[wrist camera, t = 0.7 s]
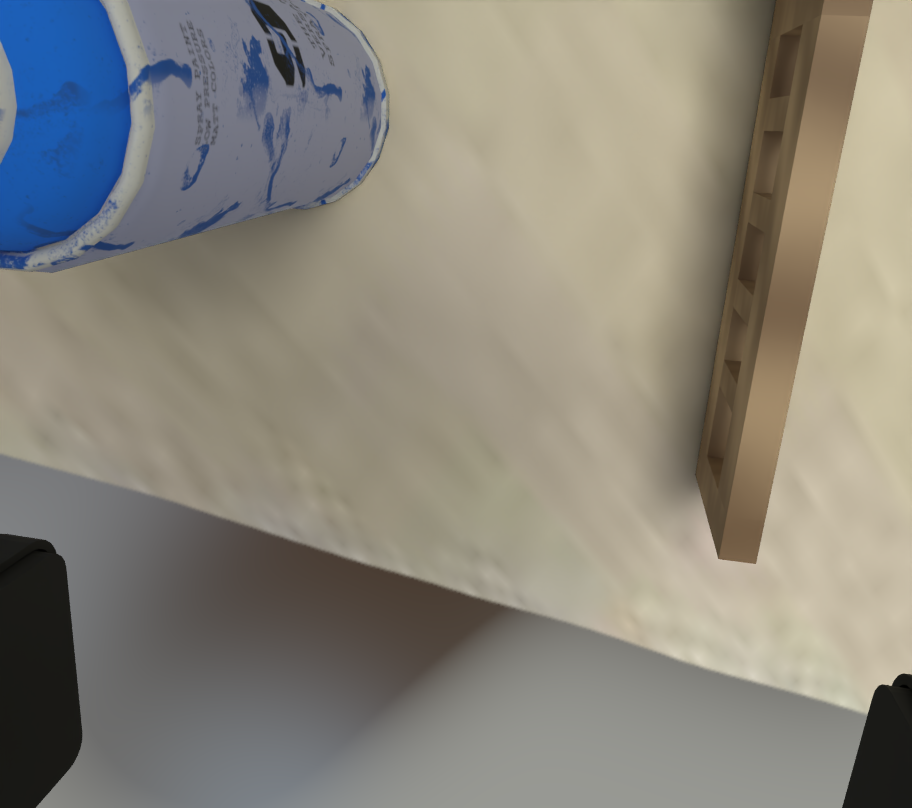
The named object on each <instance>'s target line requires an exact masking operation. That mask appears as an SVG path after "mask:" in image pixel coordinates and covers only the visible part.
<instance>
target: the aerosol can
mask: <svg viewBox="0 0 912 808" xmlns="http://www.w3.org/2000/svg"><path fill="white" fill-rule="evenodd" d="M388 129H389V92H388V88H387V85H386V81H385V77H384V74H383V70H382V66H381V63H380V60H379V58H378V57H377V55H376V54H375V52H374V50H373V49H372V47H371V46H370V44H369V42H368V41H367V39H366V37H365V36H364V34H363V33H362V31H361V30H359V29H358V28H357V27H356V26H355V25H354V24H353V23H351V22H350V21H349V20H348V19H347V18H346V17H344V16H343V15H342V14H341V13H340V12H339V11H338V10H336V9H334V8H332V7H329V6H327V5H324V4H322V3H319V2H317V1H314V0H0V269H6V270H18V271H29V272H33V271H38V272H50V273H53V272H57V271H61V270H64V269H68V268H72V267H76V266H79V265H83V264H87V263H90V262H94V261H98V260H102V259H105V258H109V257H113V256H116V255H120V254H124V253H128V252H131V251H135V250H139V249H142V248H146V247H150V246H154V245H157V244H161V243H165V242H168V241H172V240H176V239H180V238H183V237H187V236H191V235H194V234H198V233H202V232H205V231H209V230H213V229H217V228H220V227H224V226H228V225H231V224H235V223H239V222H243V221H246V220H250V219H254V218H257V217H261V216H265V215H269V214H272V213H276V212H280V211H283V210H287V209H291V208H295V209H309V208H313V207H316V206H320V205H323V204H327V203H331V202H334V201H337V200H339V199H340V198H342V197H343V196H344V195H346V194H347V193H349V192H350V191H352V190H353V189H354V188H356V187H357V186H359V185H360V184H361V183H362V182H363V180H364V179H365V177H366V176H367V175H368V173H369V172H370V171H371V169H372V168H373V166H374V165H375V164H376V162H377V161H378V159H379V157H380V154H381V150H382V147H383V144H384V141H385V138H386V135H387V132H388Z"/></svg>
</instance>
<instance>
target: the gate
mask: <svg viewBox="0 0 912 808" xmlns="http://www.w3.org/2000/svg"><path fill="white" fill-rule="evenodd" d="M872 4H873V0H776V4H775V10H774V16H773V22H772V27H771V33H770V39H769V45H768V51H767V57H766V63H765V69H764V75H763V80H762V86H761V92H760V98H759V104H758V110H757V116H756V122H755V127H754V133H753V139H752V145H751V151H750V157H749V163H748V169H747V175H746V180H745V186H744V192H743V198H742V204H741V210H740V216H739V222H738V227H737V233H736V239H735V245H734V251H733V257H732V263H731V269H730V274H729V280H728V286H727V292H726V298H725V304H724V310H723V316H722V322H721V327H720V333H719V339H718V345H717V351H716V357H715V363H714V369H713V374H712V380H711V386H710V392H709V398H708V404H707V410H706V416H705V421H704V427H703V433H702V439H701V445H700V451H699V457H698V463H697V469H696V474H695V475H696V478H697V482H698V486H699V489H700V493H701V497H702V500H703V504H704V508H705V511H706V515H707V519H708V522H709V526H710V530H711V533H712V537H713V541H714V544H715V548H716V552H717V555H718V559H722V560H730V561H738V562H745V563H753V564H756V561H757V556H758V551H759V546H760V542H761V537H762V532H763V527H764V522H765V518H766V513H767V508H768V503H769V498H770V494H771V489H772V484H773V479H774V474H775V470H776V465H777V460H778V455H779V450H780V446H781V441H782V436H783V431H784V426H785V422H786V417H787V412H788V407H789V402H790V398H791V393H792V388H793V383H794V378H795V374H796V369H797V364H798V359H799V354H800V350H801V345H802V340H803V335H804V330H805V326H806V321H807V316H808V311H809V306H810V302H811V297H812V292H813V287H814V282H815V278H816V273H817V268H818V263H819V258H820V254H821V249H822V244H823V239H824V234H825V230H826V225H827V220H828V215H829V210H830V206H831V201H832V196H833V191H834V186H835V182H836V177H837V172H838V167H839V162H840V158H841V153H842V148H843V143H844V138H845V134H846V129H847V124H848V119H849V114H850V110H851V105H852V100H853V95H854V90H855V86H856V81H857V76H858V71H859V66H860V62H861V57H862V52H863V47H864V42H865V38H866V33H867V28H868V23H869V18H870V14H871V9H872Z"/></svg>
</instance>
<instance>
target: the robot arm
mask: <svg viewBox="0 0 912 808" xmlns="http://www.w3.org/2000/svg"><path fill="white" fill-rule="evenodd" d="M81 743H82V726H81V715H80V705H79V694H78V684H77V674H76V663H75V653H74V643H73V632H72V623H71V612H70V602H69V592H68V581H67V571H66V565H65V561H64V559H63V558H62V556H60V555H58V554H56V550H55V549H54V547H53V545H52V544H51V543H50V542H48V541H46V540H42V539H35V538H29V537H22V536H16V535H9V534H0V808H36V806H37V805H38V804H39V803H40V802H41V801H42V800H43V798H44V797H45V796H46V795H47V794H48V793H49V792H50V791H51V789H52V788H53V787H54V786H55V785H56V784H57V783H58V781H59V780H60V779H61V778H62V777H63V776H64V774H65V773H66V772H67V771H68V770H69V769H70V767H71V766H72V765H73V763H74V761H75V760H76V757H77V756H78V753H79V750H80V747H81ZM842 808H912V675H910V674H901V675H898V677H897V678H896V679H895V680H894V682H893V684H892V686H889V685H883V684H882V685H880V686H878V687H877V689H876V690H875V692H874V695H873V698H872V701H871V705H870V709H869V712H868V716H867V720H866V723H865V727H864V730H863V734H862V738H861V741H860V745H859V749H858V752H857V756H856V760H855V763H854V767H853V770H852V774H851V778H850V781H849V785H848V789H847V792H846V796H845V800H844V803H843V807H842Z"/></svg>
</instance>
